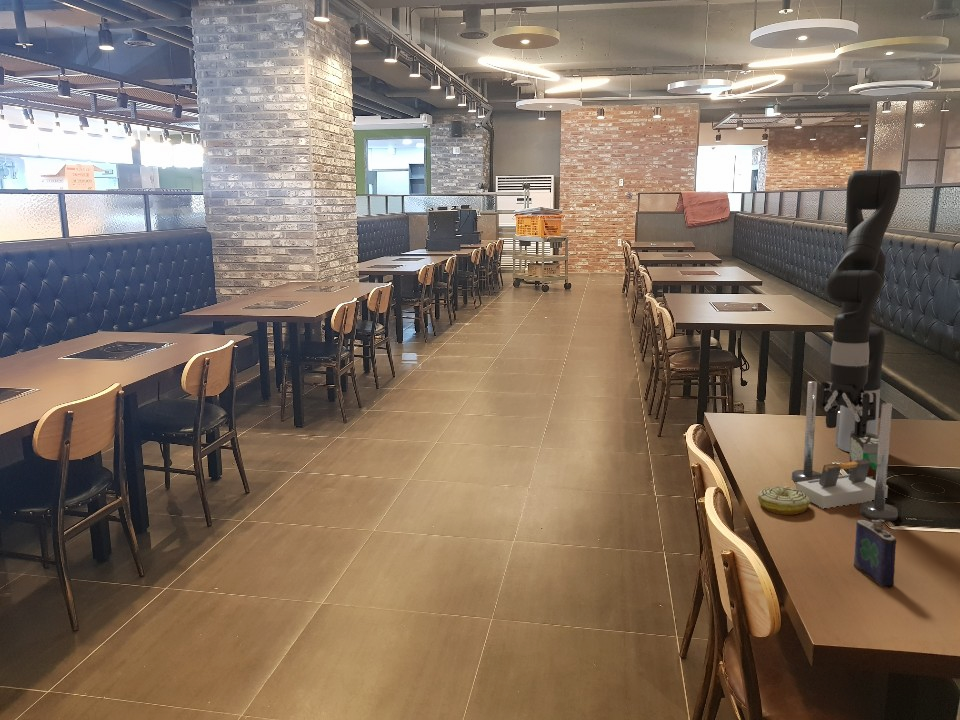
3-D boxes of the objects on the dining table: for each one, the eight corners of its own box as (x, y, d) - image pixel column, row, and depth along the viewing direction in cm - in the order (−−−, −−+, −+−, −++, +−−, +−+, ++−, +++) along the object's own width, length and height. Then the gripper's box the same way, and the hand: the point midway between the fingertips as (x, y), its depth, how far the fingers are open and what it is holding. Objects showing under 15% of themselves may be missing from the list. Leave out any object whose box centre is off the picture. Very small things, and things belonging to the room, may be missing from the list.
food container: (890, 486, 172) (893, 445, 170) (861, 485, 174) (864, 444, 172) (873, 468, 184) (876, 430, 182) (847, 467, 185) (849, 429, 183)
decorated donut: (816, 506, 163) (817, 490, 163) (798, 521, 156) (799, 505, 155) (769, 495, 170) (770, 479, 170) (750, 509, 163) (751, 493, 162)
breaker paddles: (818, 483, 166) (824, 465, 164) (860, 477, 169) (865, 458, 167) (823, 487, 164) (828, 468, 162) (865, 481, 167) (870, 462, 165)
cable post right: (852, 511, 159) (859, 401, 155) (879, 506, 161) (887, 398, 156) (877, 523, 153) (886, 409, 148) (905, 518, 155) (914, 406, 150)
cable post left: (785, 477, 180) (789, 380, 175) (809, 474, 182) (814, 377, 177) (805, 487, 174) (810, 386, 169) (829, 483, 175) (835, 383, 171)
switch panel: (795, 494, 169) (796, 481, 169) (856, 485, 174) (857, 472, 173) (823, 509, 161) (824, 495, 160) (886, 498, 165) (887, 485, 165)
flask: (850, 564, 136) (854, 510, 134) (864, 563, 136) (868, 509, 134) (883, 589, 127) (888, 531, 125) (899, 587, 127) (904, 530, 125)
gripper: (889, 365, 156) (883, 439, 159) (839, 354, 169) (835, 422, 172) (859, 368, 154) (855, 443, 157) (812, 357, 167) (808, 426, 170)
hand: (844, 432), depth 164 cm, fingers open, 8 cm apart
